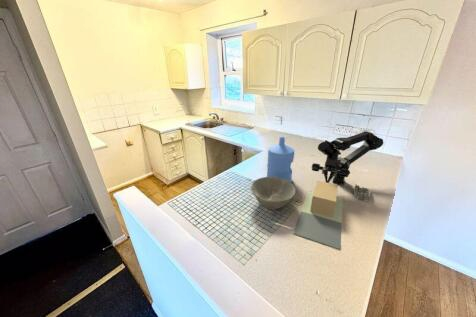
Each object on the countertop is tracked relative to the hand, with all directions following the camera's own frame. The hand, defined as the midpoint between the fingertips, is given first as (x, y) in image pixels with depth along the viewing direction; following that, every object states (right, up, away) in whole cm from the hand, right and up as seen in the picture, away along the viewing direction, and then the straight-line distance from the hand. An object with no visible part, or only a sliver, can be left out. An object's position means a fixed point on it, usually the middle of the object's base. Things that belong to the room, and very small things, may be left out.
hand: (326, 184), depth 106 cm
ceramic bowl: (-31, -10, -4) cm, 33 cm away
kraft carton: (-5, -10, -6) cm, 13 cm away
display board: (-9, -13, -13) cm, 20 cm away
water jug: (-22, 0, +19) cm, 29 cm away
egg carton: (+20, -7, +2) cm, 21 cm away
